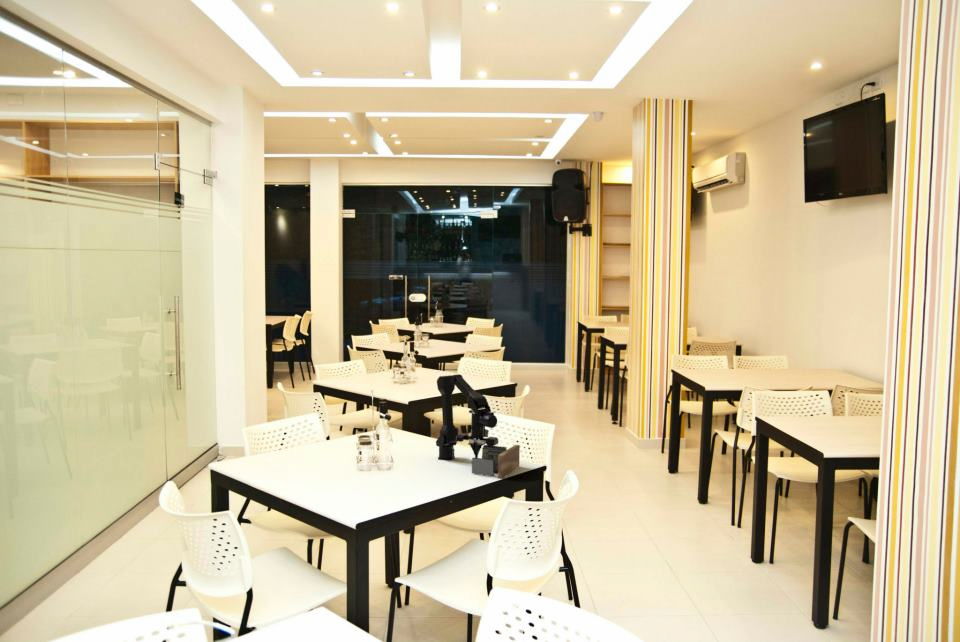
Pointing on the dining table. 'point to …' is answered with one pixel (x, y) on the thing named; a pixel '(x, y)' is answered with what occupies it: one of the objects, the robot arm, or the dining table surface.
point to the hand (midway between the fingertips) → (476, 458)
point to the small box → (492, 454)
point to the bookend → (483, 466)
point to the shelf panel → (508, 461)
